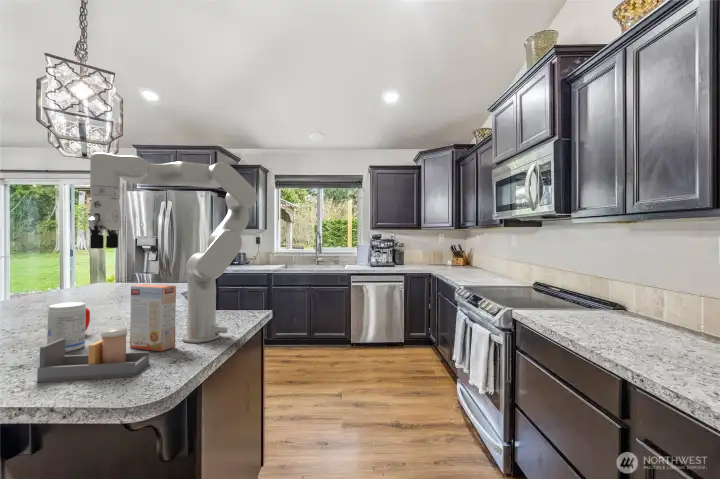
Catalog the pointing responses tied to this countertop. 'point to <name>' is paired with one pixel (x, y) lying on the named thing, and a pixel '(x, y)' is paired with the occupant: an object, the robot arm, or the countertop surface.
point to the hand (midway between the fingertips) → (104, 248)
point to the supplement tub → (67, 324)
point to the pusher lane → (84, 365)
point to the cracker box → (153, 317)
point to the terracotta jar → (114, 345)
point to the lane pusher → (95, 352)
